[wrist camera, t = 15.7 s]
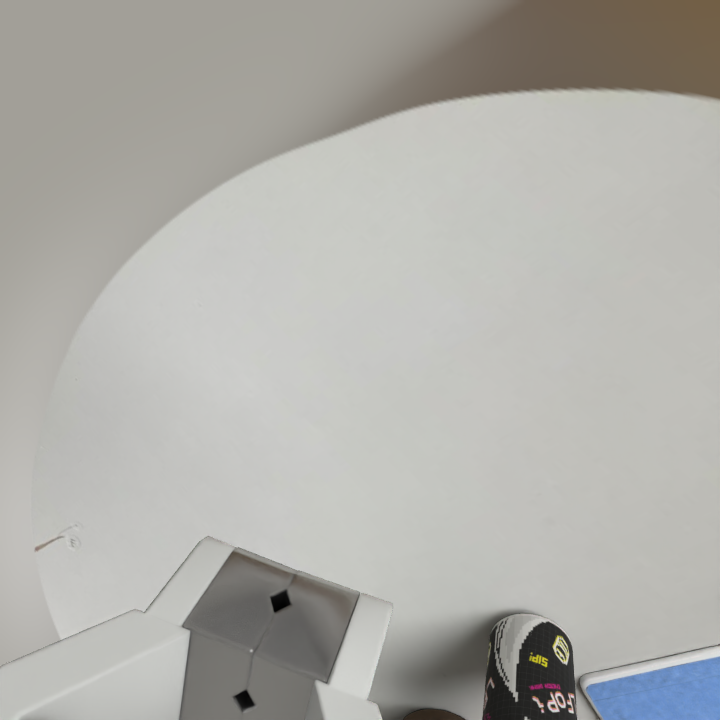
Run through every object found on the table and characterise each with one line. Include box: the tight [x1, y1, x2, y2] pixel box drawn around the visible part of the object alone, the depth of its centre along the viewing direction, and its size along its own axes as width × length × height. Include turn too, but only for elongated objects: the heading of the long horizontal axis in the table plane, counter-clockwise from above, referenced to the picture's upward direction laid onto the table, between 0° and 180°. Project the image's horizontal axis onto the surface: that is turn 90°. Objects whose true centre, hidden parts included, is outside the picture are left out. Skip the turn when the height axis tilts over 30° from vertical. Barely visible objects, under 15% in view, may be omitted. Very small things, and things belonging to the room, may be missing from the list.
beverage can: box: [482, 614, 577, 720], centre depth 40 cm, size 6×6×12 cm
